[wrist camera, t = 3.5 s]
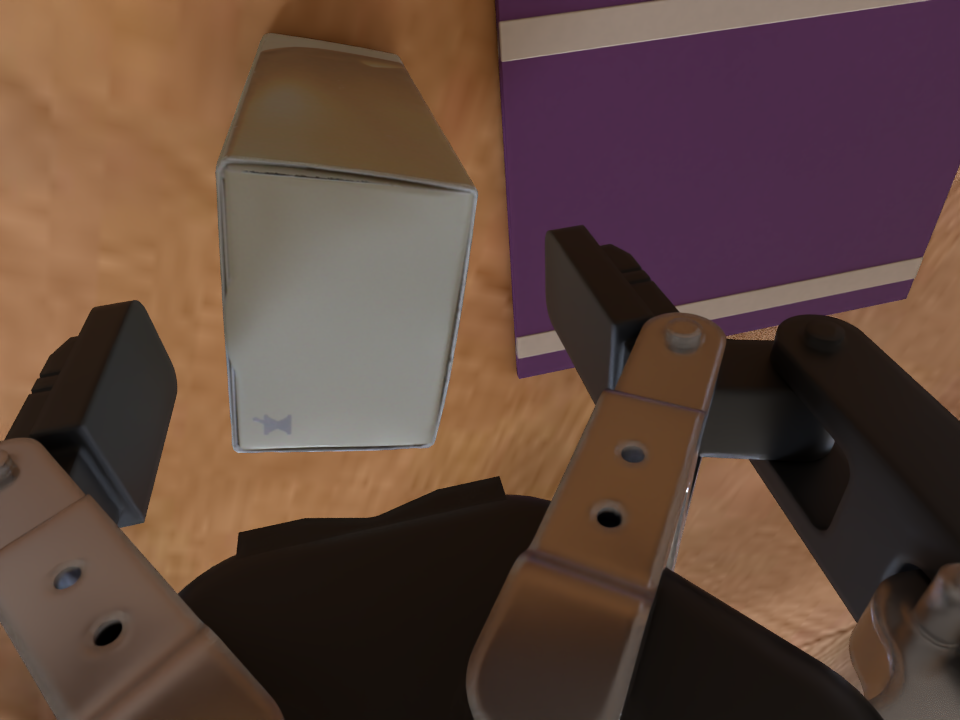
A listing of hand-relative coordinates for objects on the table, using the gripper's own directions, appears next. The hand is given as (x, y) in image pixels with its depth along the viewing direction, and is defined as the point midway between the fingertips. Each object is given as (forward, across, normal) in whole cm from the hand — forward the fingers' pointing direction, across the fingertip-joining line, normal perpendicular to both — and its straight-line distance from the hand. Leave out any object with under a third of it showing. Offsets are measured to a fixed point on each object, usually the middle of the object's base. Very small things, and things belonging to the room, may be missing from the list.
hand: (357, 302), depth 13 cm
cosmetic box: (+11, 0, 0) cm, 11 cm away
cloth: (+11, -16, +4) cm, 20 cm away
